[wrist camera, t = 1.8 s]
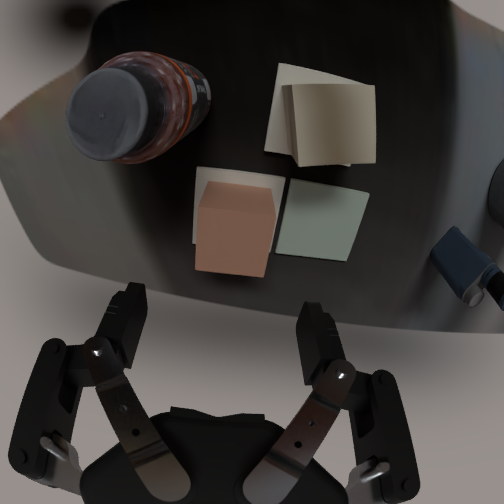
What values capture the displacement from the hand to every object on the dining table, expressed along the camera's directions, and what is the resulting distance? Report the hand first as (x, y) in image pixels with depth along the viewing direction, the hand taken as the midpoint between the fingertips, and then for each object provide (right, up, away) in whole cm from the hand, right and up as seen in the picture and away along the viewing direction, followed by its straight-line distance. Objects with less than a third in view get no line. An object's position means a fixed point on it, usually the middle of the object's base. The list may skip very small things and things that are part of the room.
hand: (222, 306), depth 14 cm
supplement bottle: (-4, +14, +5) cm, 16 cm away
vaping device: (+23, +4, +12) cm, 26 cm away
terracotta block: (0, +6, +9) cm, 11 cm away
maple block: (+6, +13, +5) cm, 15 cm away
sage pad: (+8, +5, +10) cm, 14 cm away
